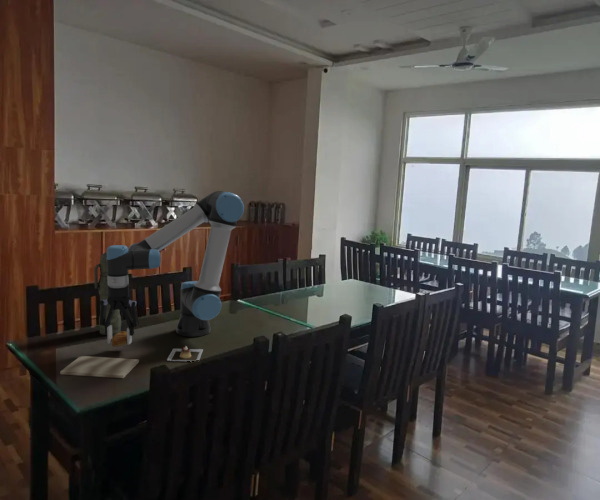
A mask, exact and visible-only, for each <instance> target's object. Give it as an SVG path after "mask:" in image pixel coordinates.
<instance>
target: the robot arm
mask: <svg viewBox="0 0 600 500" xmlns="http://www.w3.org/2000/svg"><path fill="white" fill-rule="evenodd" d="M244 210H245V205H244V202H243V200H242V198H241V197H240V196H239V195H237V194H235V193H233V192H229V191H223V190H217V191H213V192H211V193H209V194H208V195H206V196H205V197H203V198H202V199H201V200H199V201H197V202H195V203H194V205H193V208H191V209H189V210H188V211H186V212H185V213H183V214H181V215H179V216H178V217H177V218H175V219H174V220H172V221H171V222H169V223H167V224H165V225H164V226H163V227H161V228H160V229H158V230H157V231H155V232H153V233H152V234H150V235H148V236H147V237H145V238H144V239H143V240H141V241H139V242H137V243H133V244H131V245H129V247H128V246H127V245H124V244H121V245H120V244H115V245H113V244H112V245H109V246H108V247H107V248H106V253H107V258H106V259H107V280H108V286H109V287H108V299H106V300H105V299H103V300H101V301H100V300H99V305H100V304H101V313H99V317H100V325H103V326H105V334H106V335H105V336H107V337H106V338H107V344H109V345H110V344H112V338H113V335H112V325H110V323H111V320H112V317H113V314H114V312H115V310H117V309H118V310H120V311H121V313H123V315H124V319H125V322H126V324H127V326H128V327H127V328H126V332H127V345H131V344H132V343H133V337H132V336H134V335H135V327H137V326H138V325H139V323H140V322H139V321H140V320H139V314H138V309H137V308H138V307H137V305H138V300H131V299H130V291H129V290H130V286H129V284H130V283H129V271H133V270H135V271H136V270H148V269H149V270H152V269H159V267H161V262H162V259H161V258H162V257H161V252H160V251H162V250H163V249H164V248H165V249H166V247H168V246H169V245H171V244H172V243H174V242H175V241H177V240H179V239H180V238H181V237H183V236H184V235H187V234H188V233H189V232H190V231H193V230H194V229H195V228H197V227H198V226H200V225H202V224H203V223H206V224H207V223H209V224H210V229H209V233H208V238H207V243H206V247H205V252H204V256H203V260H202V265H201V270H200V272H199V273H200V274H199V278H198V280H191V281H184V282H182V283H181V286H180V288H179V289H180V315H179V318H178V321H177V323H176V326H175V327H176V329H175V331H176V334H178V335H180V336H182V337H188V338H190V337H191V338H193V337H194V338H195V337H203V336H206V335H208V334H210V333H211V324H210V320H212V319H215V318H216V317H218V315H219V314H220V312H221V309H222V301H221V299H220V298H221V293H222V288H221V287H220V282H221V276H222V273H223V268H224V264H225V260H226V256H227V249H228V247H229V242H230V238H231V234H232V230H234V229H236V228H237V224H238V221H239V220H240V219H241V218H242V216H243V214H244V212H245V211H244ZM108 303H109V305H110V306H111V307H110V310H109V313H108V316H107V319H106V310H107V304H108ZM128 305H129V307H130V311H131V312H130V311H129V307H128ZM105 321H106V322H105Z"/></svg>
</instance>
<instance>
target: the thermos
mask: <svg viewBox="0 0 600 500" xmlns="http://www.w3.org/2000/svg"><path fill="white" fill-rule="evenodd" d="M106 258H107V252H104V253H102V254H101V256H100V259H99V263H98V264H96V265H95V267H94V269H93V271H94V288H95V290H98V295H99V302H100V301H101V300H103V299H105V300H106V299H108V287H109V286H108V280H107V259H106ZM98 268H99V272H100V275H99V279H98ZM110 307H111V306H110V305H109V303H108V304H107V310H106V319H107V316H108V313H109V310H110ZM99 308H100V310H99V311H100V313H101V304H100V303H99ZM120 311H121V310H118V309H117V310H115V312H114V314H113V317H112V320H111V323H110V325H112V336H115V334H117V333H118V332H121V331H122V330H121V327H122V316H121V313H120ZM100 313H99V314H100ZM105 322H106V321H105ZM98 326H99V327H98V328H99V334H100V335H101V336H102V335H103V336H107V335H106V334H105V326H103V325H100V316H99V317H98Z"/></svg>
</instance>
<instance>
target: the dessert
mask: <svg viewBox="0 0 600 500" xmlns="http://www.w3.org/2000/svg"><path fill="white" fill-rule="evenodd" d="M203 351H204V349H202V348H198V349H197V348H188V346H183V347H182V348H172V350H171V352H170V353H169V355H168V357H167V358H166V361H168V362H187V361H188V360H186V359H190V358H191V357H192V353H194V352H195V353H198V354H197V357H196V359H195V361H196V360H199V361H200V359H201V357H202V354H203ZM176 352H180V354H179V358H180V359H173V357H174V355H175V354H176ZM181 359H182V360H181ZM183 359H185V360H183ZM189 361H190V363H193V362H192V361H193V360H189Z"/></svg>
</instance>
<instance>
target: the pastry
mask: <svg viewBox="0 0 600 500" xmlns="http://www.w3.org/2000/svg"><path fill="white" fill-rule="evenodd" d="M111 344H112V347H113V348H116V347H117V348H118V347H125V346H126V345H128V344H127V331H126V330H125V331H123V330H121V332H118V333H117V334H114V335H113V336H112V342H111Z"/></svg>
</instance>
